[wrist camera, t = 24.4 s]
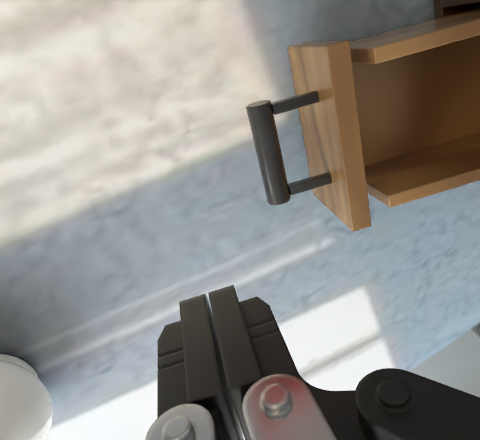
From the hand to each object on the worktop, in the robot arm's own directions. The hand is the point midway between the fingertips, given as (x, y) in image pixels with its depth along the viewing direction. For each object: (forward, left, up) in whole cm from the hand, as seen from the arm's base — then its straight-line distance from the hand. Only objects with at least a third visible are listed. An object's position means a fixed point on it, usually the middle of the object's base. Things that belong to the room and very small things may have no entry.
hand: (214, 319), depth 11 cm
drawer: (0, -13, -18) cm, 22 cm away
